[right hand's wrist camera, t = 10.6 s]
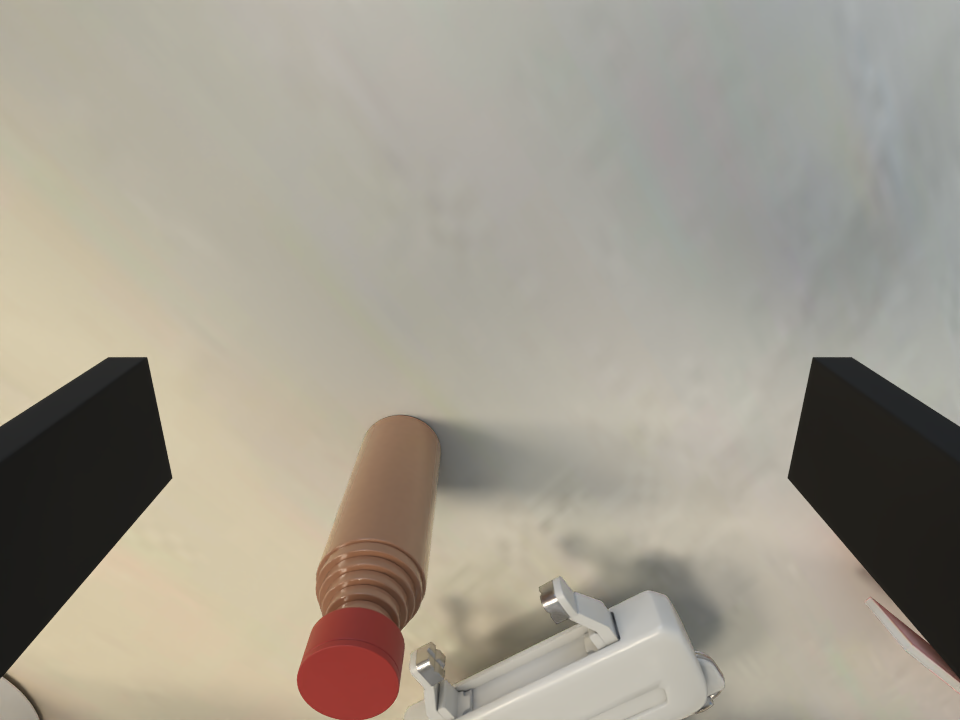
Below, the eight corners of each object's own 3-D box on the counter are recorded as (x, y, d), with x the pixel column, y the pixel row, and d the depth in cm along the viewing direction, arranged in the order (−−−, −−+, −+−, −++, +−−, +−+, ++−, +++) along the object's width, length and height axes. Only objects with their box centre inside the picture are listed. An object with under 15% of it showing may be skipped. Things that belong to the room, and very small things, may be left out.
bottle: (375, 404, 39) (303, 609, 23) (451, 429, 40) (433, 646, 24) (352, 469, 41) (269, 703, 25) (426, 493, 42) (392, 735, 25)
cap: (324, 595, 25) (311, 633, 23) (417, 621, 25) (412, 661, 23) (299, 664, 26) (285, 706, 24) (388, 688, 27) (381, 731, 25)
